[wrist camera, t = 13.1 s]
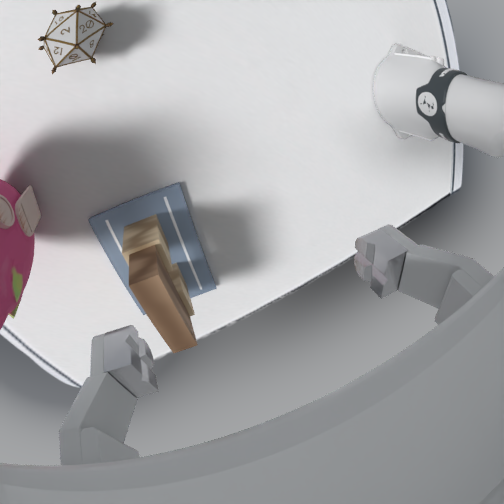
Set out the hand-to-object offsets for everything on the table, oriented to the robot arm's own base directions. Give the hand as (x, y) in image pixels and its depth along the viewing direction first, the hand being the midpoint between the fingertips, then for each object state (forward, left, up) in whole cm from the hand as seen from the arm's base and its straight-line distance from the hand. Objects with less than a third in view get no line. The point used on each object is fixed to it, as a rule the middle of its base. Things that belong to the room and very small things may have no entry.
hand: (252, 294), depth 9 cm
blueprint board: (+8, +17, -31) cm, 36 cm away
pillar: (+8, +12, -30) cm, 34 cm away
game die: (+8, -17, -31) cm, 37 cm away
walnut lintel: (+8, +17, -23) cm, 30 cm away
